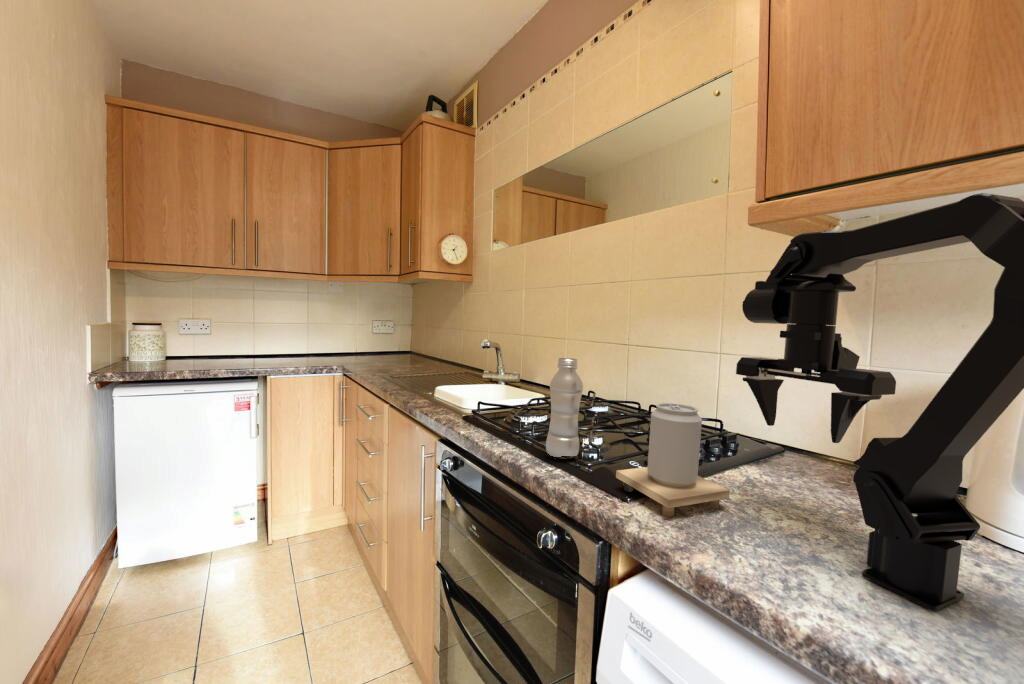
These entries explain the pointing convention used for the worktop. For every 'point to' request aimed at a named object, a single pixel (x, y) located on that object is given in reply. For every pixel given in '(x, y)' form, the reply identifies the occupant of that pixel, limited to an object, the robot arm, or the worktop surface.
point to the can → (674, 444)
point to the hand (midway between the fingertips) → (801, 433)
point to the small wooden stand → (673, 490)
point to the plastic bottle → (564, 410)
